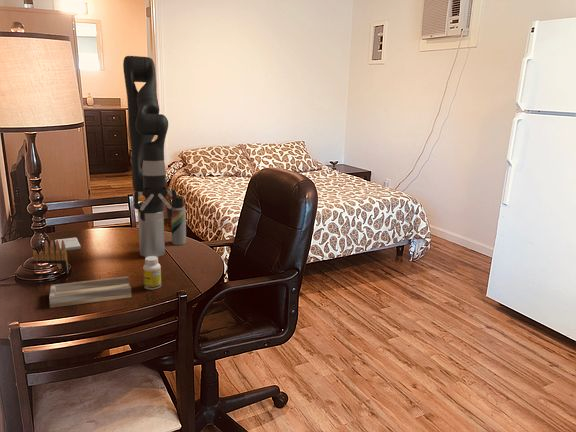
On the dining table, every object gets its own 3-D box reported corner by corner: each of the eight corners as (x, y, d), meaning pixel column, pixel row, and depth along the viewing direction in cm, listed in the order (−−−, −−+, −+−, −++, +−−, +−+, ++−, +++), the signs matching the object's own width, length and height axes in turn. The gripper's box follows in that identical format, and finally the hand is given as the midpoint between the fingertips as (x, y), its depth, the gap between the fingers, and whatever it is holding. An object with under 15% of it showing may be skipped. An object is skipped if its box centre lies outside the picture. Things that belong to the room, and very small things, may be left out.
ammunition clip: (69, 272, 153) (66, 239, 150) (67, 274, 152) (64, 240, 148) (36, 273, 152) (32, 239, 149) (33, 275, 150) (29, 240, 147)
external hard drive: (57, 252, 173) (54, 243, 183) (81, 249, 177) (77, 240, 187) (57, 248, 172) (54, 239, 182) (80, 245, 176) (76, 237, 187)
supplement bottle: (140, 286, 145) (139, 257, 143) (156, 281, 149) (155, 253, 146) (149, 291, 141) (147, 262, 139) (164, 287, 145) (163, 258, 143)
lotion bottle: (178, 240, 191) (177, 194, 186) (189, 242, 189) (188, 196, 183) (169, 243, 187) (167, 196, 181) (179, 246, 184) (178, 198, 179)
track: (52, 293, 137) (51, 284, 136) (128, 284, 146) (128, 275, 145) (50, 307, 128) (49, 298, 128) (131, 297, 137) (131, 288, 136)
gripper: (173, 171, 161) (175, 216, 164) (131, 173, 155) (133, 219, 158) (177, 174, 154) (178, 220, 157) (133, 175, 148) (136, 223, 152)
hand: (156, 219), depth 158 cm, fingers open, 8 cm apart
